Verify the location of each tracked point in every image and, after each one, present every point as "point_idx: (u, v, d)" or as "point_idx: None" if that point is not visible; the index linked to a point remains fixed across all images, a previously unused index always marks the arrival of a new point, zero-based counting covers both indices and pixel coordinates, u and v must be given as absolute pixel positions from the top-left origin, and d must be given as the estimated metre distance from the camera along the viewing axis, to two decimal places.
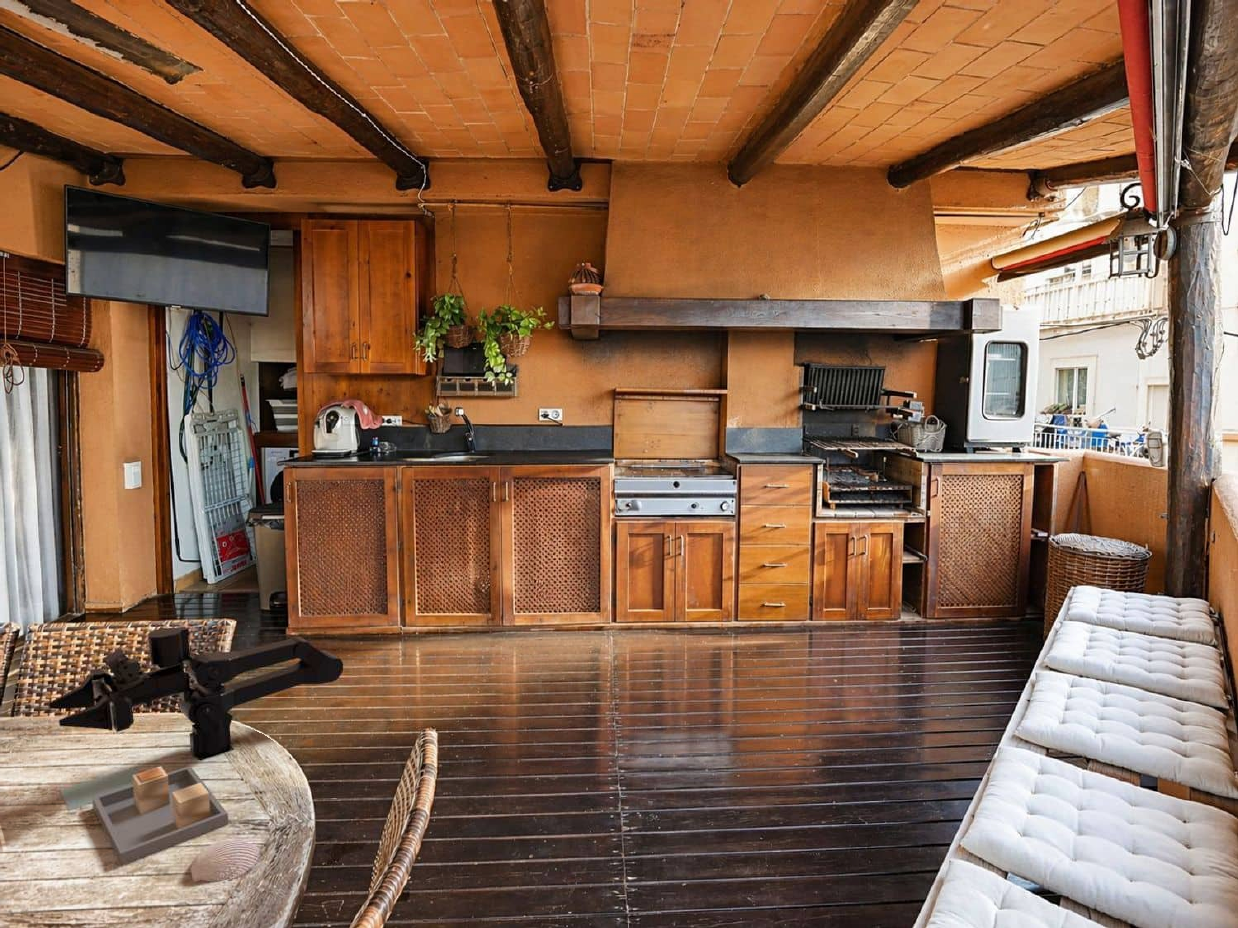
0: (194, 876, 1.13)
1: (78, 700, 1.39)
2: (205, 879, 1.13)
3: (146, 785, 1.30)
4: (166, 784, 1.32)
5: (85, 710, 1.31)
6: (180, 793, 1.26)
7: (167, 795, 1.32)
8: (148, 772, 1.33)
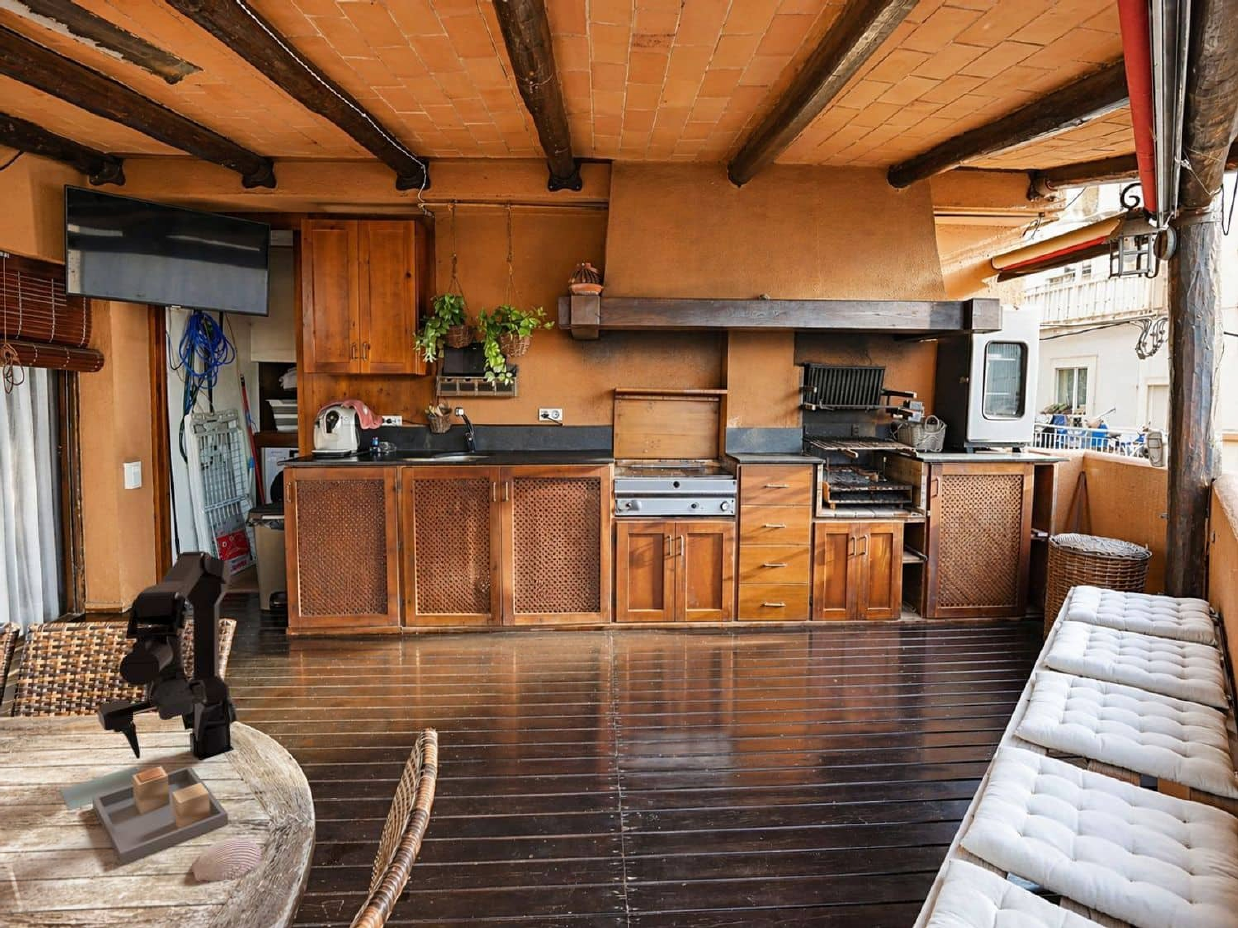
0: (197, 875, 1.13)
1: None
2: (207, 878, 1.13)
3: (146, 785, 1.30)
4: (166, 784, 1.32)
5: (203, 720, 1.31)
6: (180, 793, 1.26)
7: (167, 795, 1.32)
8: (148, 772, 1.33)
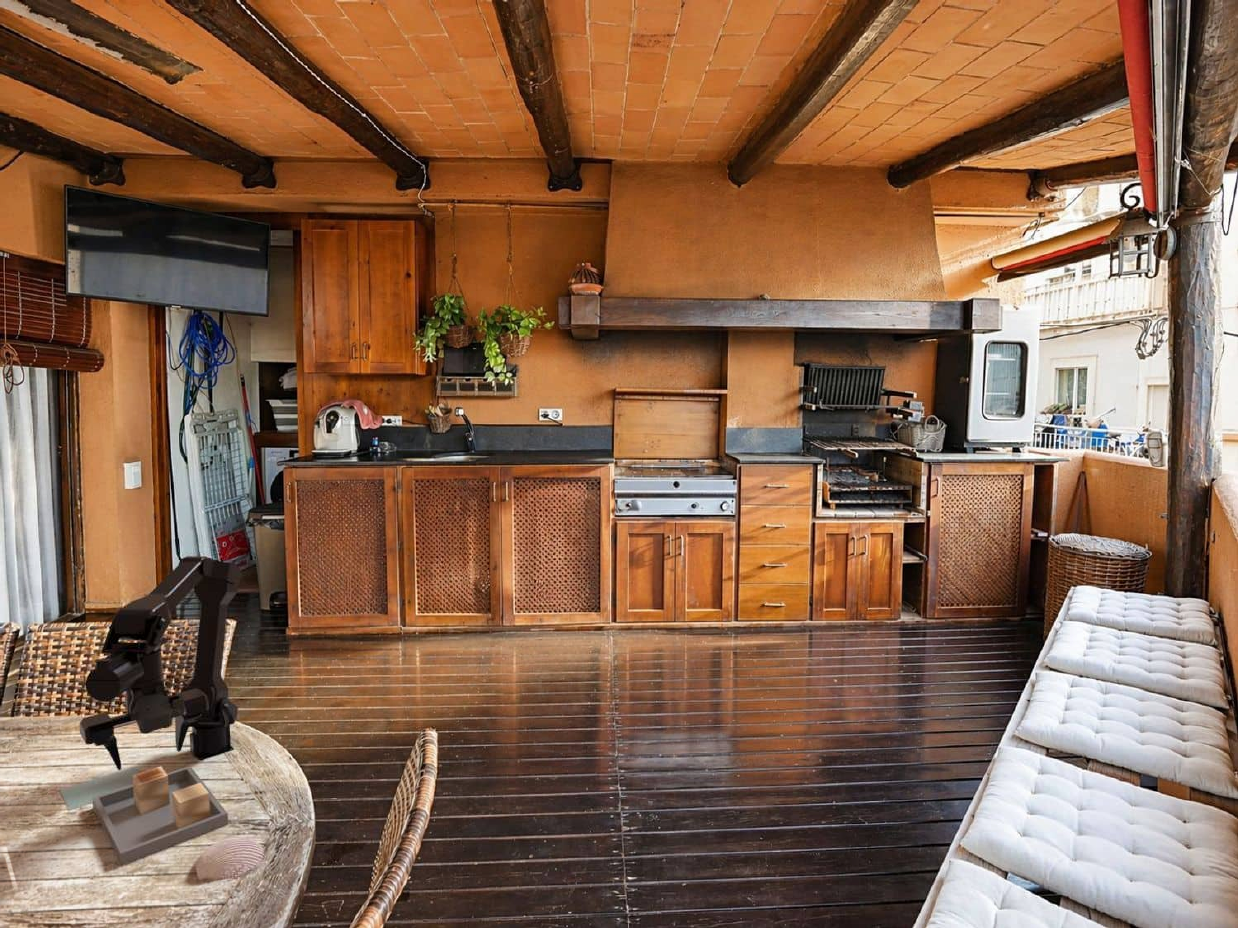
0: (200, 874, 1.13)
1: None
2: (210, 877, 1.13)
3: (146, 785, 1.30)
4: (166, 784, 1.32)
5: (184, 732, 1.34)
6: (180, 793, 1.26)
7: (167, 795, 1.32)
8: (148, 772, 1.33)
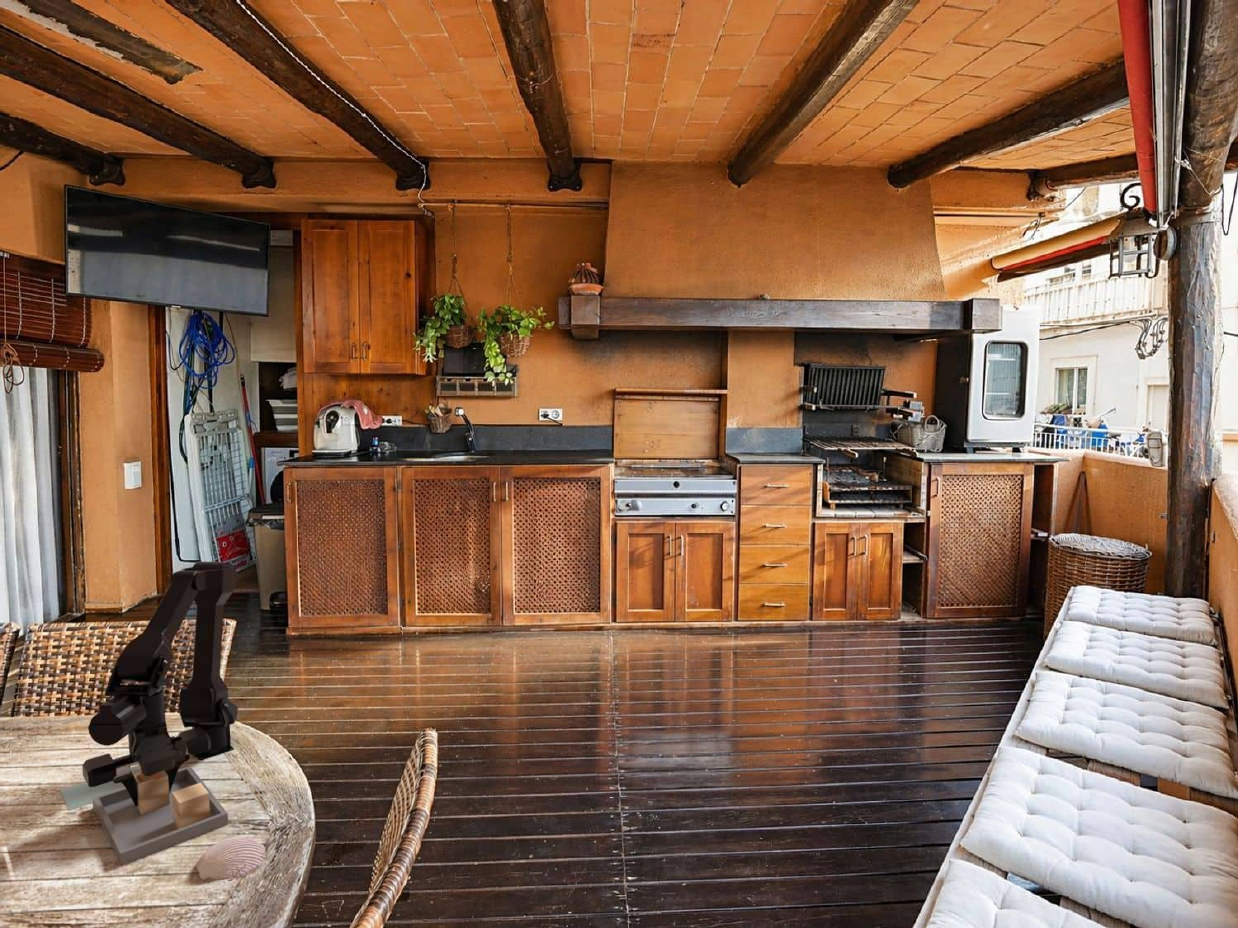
0: (202, 874, 1.13)
1: None
2: (212, 877, 1.13)
3: (146, 785, 1.30)
4: (166, 784, 1.32)
5: (172, 776, 1.34)
6: (180, 793, 1.26)
7: (167, 795, 1.32)
8: None
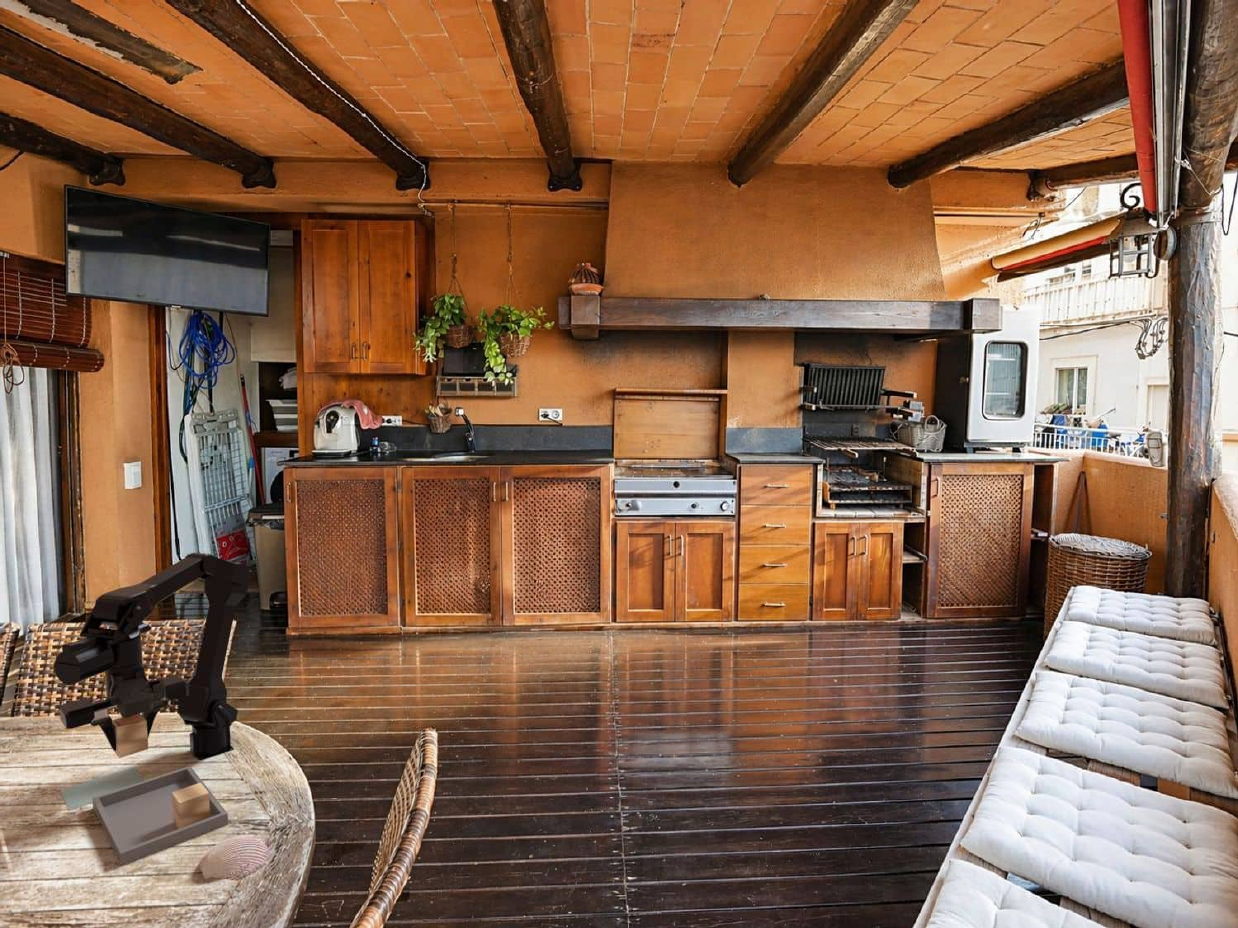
0: (205, 873, 1.13)
1: None
2: (216, 876, 1.14)
3: (124, 728, 1.31)
4: (144, 729, 1.33)
5: (150, 721, 1.35)
6: (180, 793, 1.26)
7: (146, 740, 1.33)
8: None
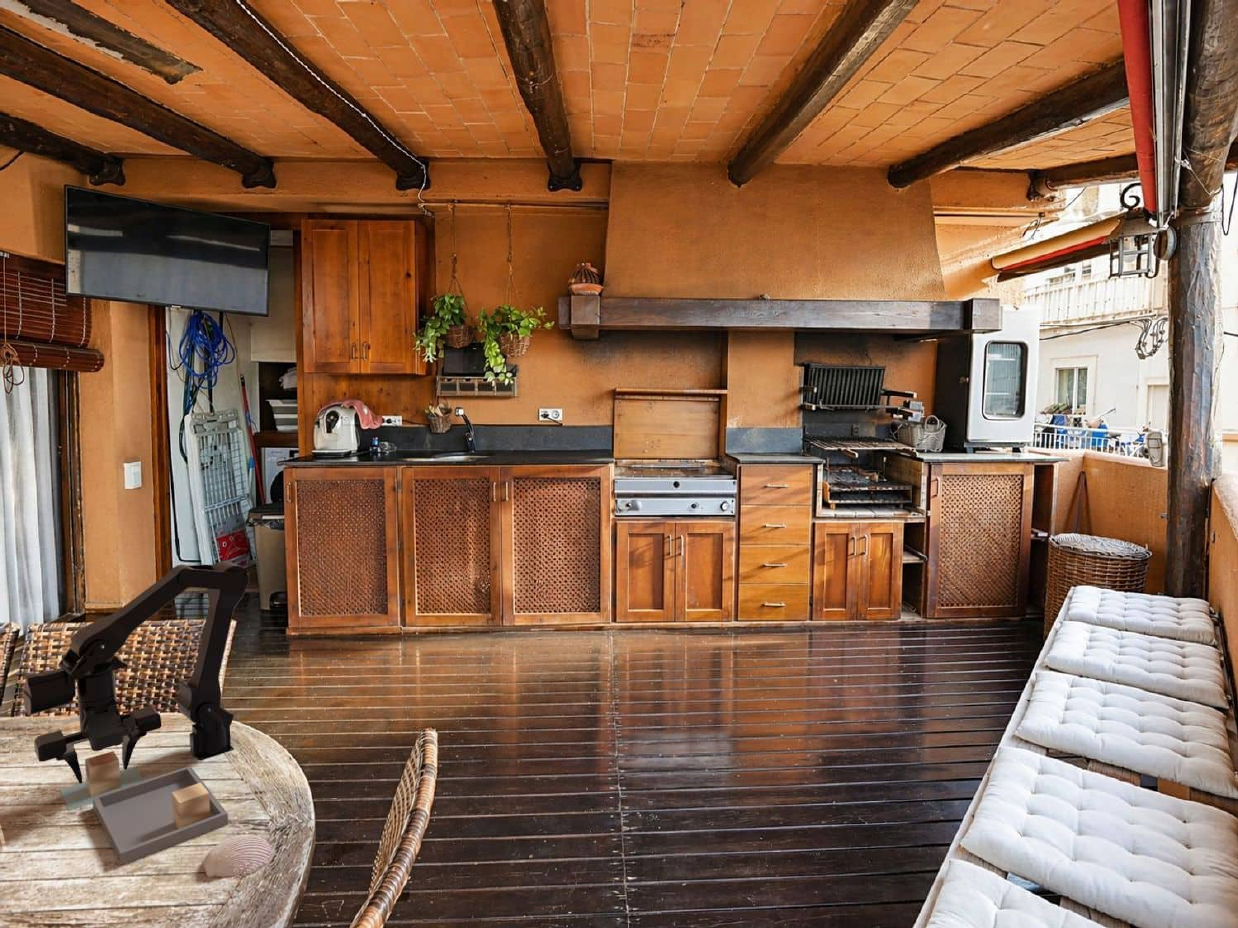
0: (209, 872, 1.13)
1: None
2: (219, 875, 1.14)
3: (97, 768, 1.35)
4: (117, 768, 1.37)
5: (130, 750, 1.39)
6: (180, 793, 1.26)
7: (118, 778, 1.37)
8: (100, 756, 1.38)
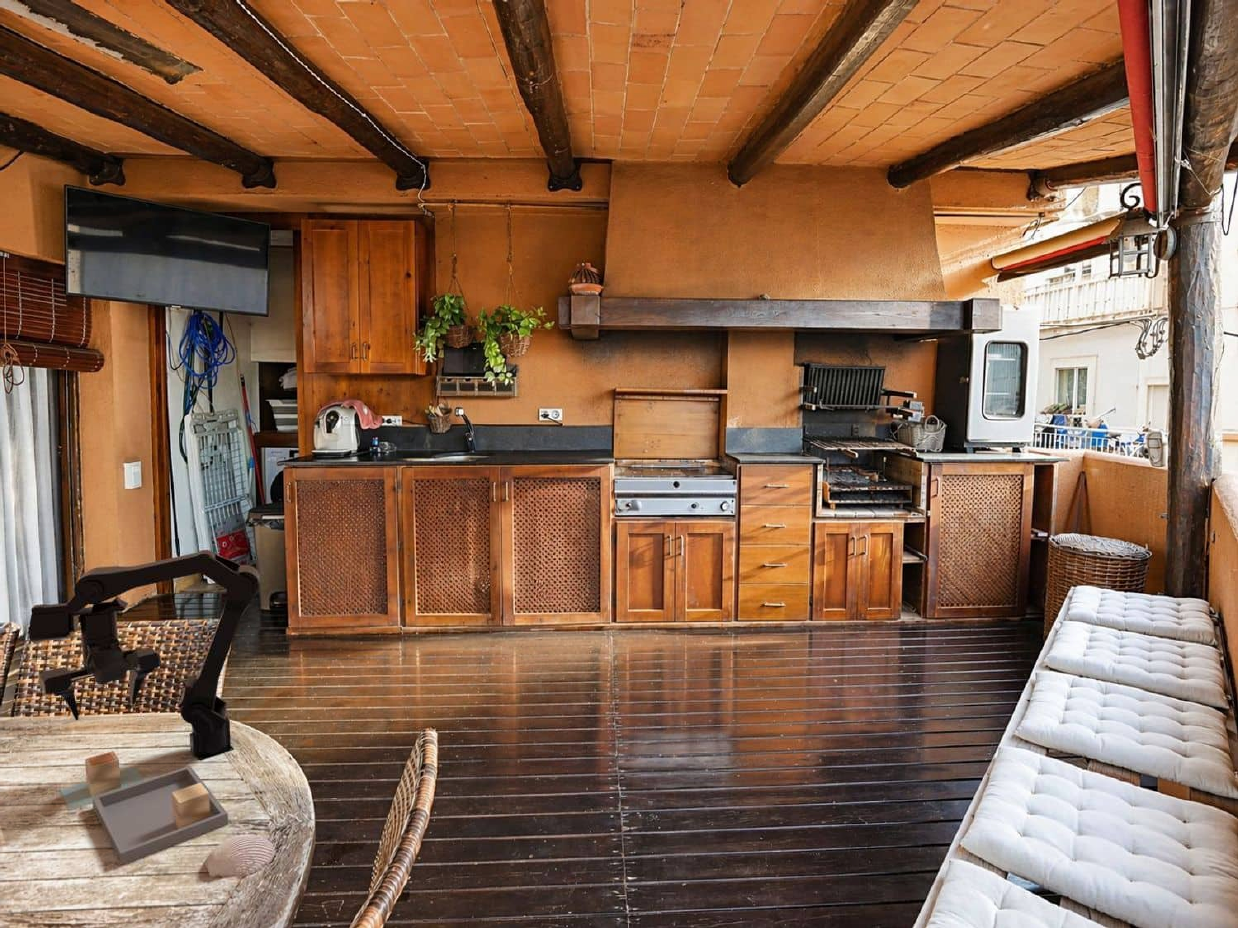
0: (211, 871, 1.14)
1: None
2: (222, 874, 1.14)
3: (97, 768, 1.35)
4: (117, 768, 1.37)
5: (137, 686, 1.46)
6: (180, 793, 1.26)
7: (118, 778, 1.37)
8: (100, 756, 1.38)
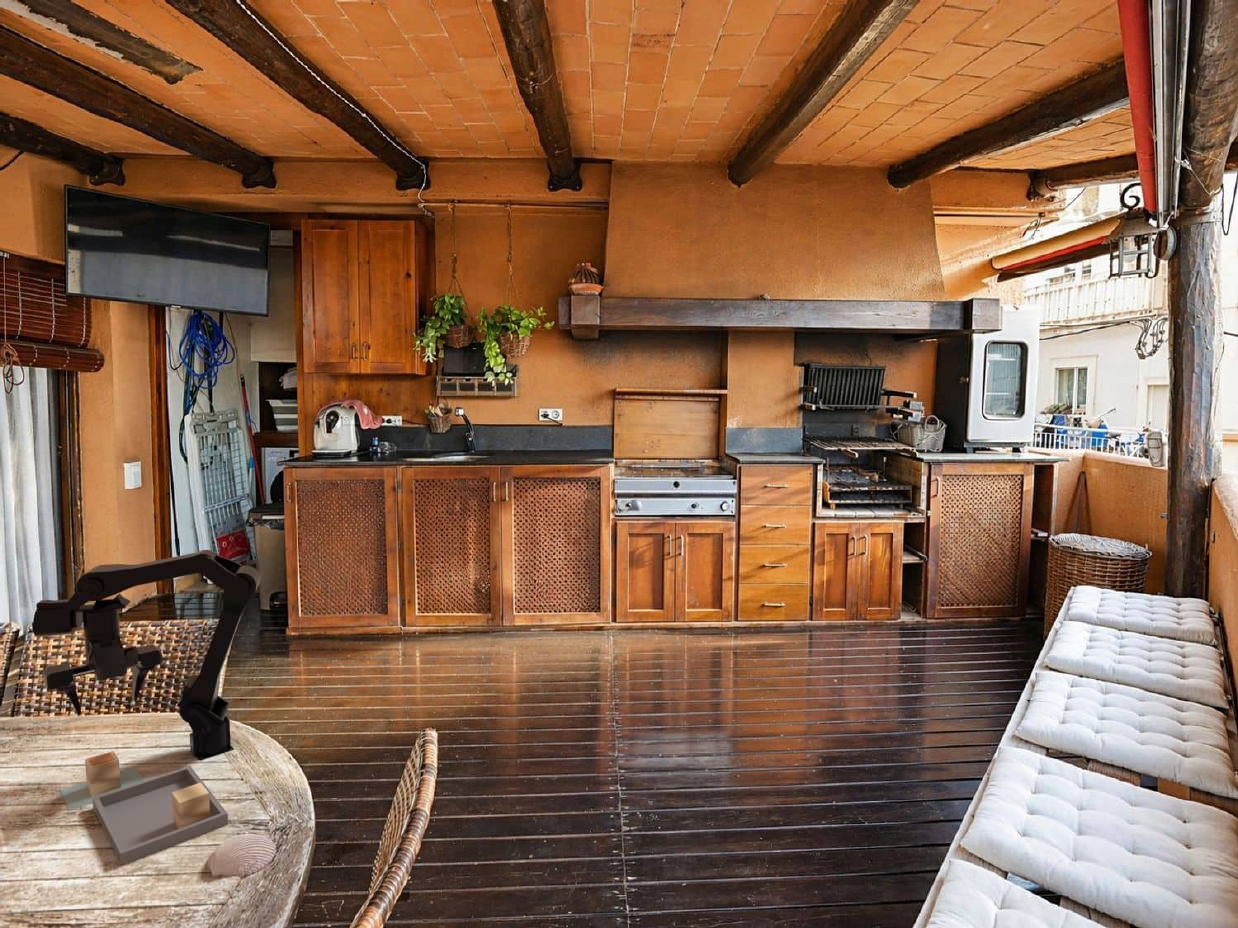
0: (214, 871, 1.14)
1: None
2: (224, 873, 1.14)
3: (97, 768, 1.35)
4: (117, 768, 1.37)
5: (139, 683, 1.48)
6: (180, 793, 1.26)
7: (118, 778, 1.37)
8: (100, 756, 1.38)
